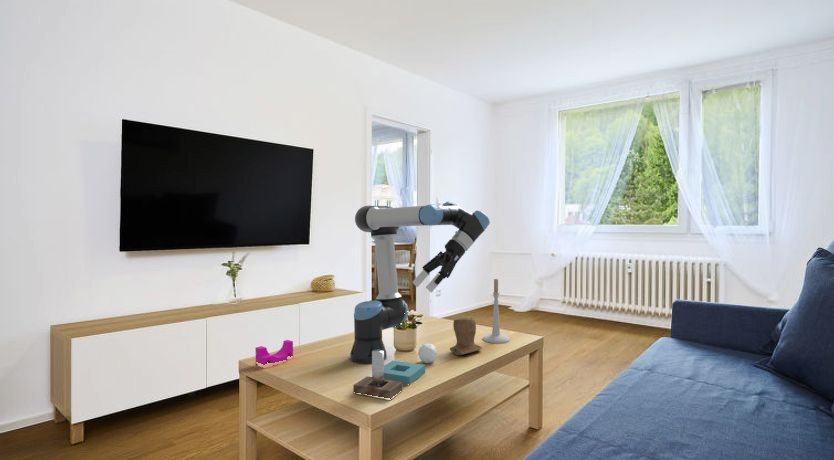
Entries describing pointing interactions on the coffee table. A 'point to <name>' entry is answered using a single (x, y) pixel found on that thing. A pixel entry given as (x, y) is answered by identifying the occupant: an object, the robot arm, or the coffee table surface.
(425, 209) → the robot arm
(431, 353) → the geometric ball
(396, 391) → the brown rectangular frame
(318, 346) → the coffee table surface
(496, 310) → the candlestick
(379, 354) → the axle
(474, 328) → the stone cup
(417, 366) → the seat block
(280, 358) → the magenta curved bracket
